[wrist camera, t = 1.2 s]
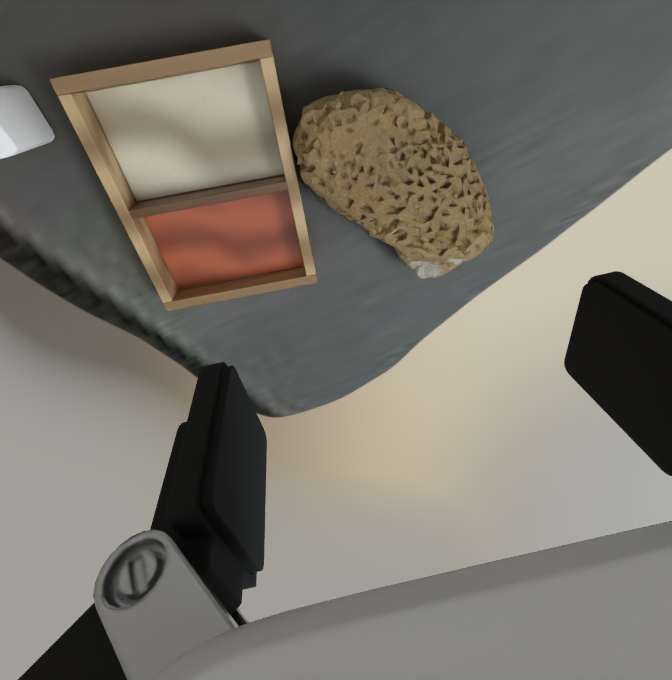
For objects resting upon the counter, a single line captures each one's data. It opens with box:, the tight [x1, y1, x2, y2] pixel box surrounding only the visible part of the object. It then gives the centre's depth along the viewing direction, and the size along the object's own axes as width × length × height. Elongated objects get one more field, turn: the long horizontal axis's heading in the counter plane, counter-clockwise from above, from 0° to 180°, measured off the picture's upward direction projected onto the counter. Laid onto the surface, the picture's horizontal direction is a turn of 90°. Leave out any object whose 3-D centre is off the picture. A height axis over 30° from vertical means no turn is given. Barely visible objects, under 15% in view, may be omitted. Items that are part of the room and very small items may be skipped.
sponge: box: [292, 88, 495, 279], centre depth 34 cm, size 13×8×20 cm
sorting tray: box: [49, 39, 317, 311], centre depth 34 cm, size 20×16×3 cm
